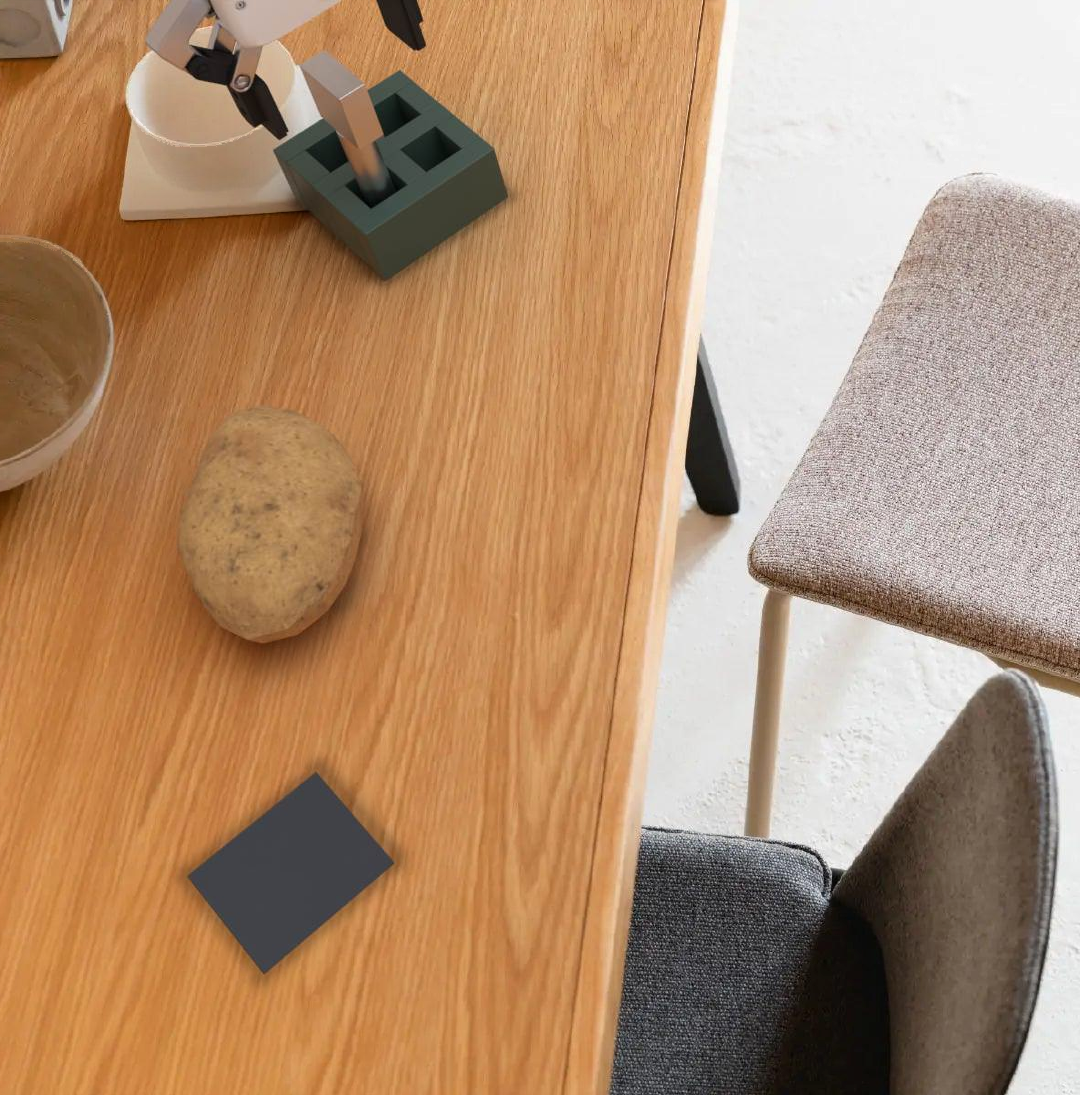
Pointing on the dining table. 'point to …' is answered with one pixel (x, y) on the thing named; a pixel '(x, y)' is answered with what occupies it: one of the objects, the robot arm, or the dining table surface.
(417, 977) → the dining table surface
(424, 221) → the rack
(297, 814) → the mat
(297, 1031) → the dining table surface
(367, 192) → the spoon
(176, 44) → the robot arm
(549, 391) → the dining table surface
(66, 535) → the dining table surface
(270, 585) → the potato
